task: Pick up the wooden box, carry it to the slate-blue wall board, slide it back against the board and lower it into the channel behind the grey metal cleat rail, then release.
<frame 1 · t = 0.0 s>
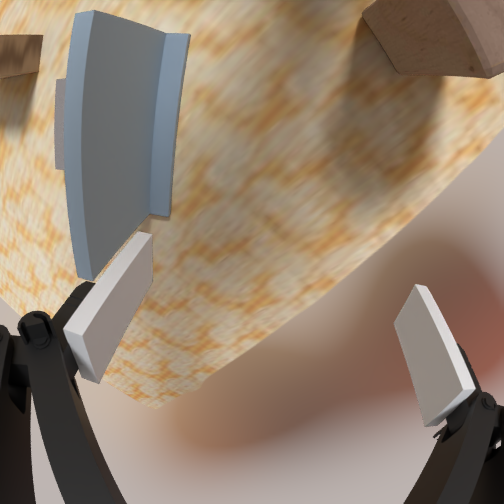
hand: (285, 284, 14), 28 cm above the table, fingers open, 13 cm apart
cleat rail: (70, 121, 37), on the table
wall board: (150, 124, 37), on the table
wooden box: (22, 57, 31), on the table
wooden block: (406, 32, 28), on the table
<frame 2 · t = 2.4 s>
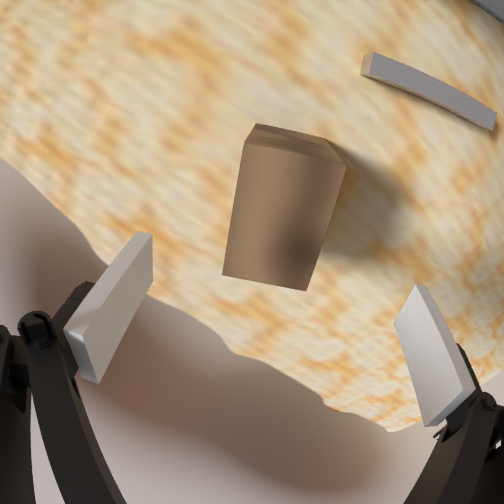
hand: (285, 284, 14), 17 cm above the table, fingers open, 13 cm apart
cleat rail: (427, 90, 22), on the table
wooden box: (279, 179, 29), on the table
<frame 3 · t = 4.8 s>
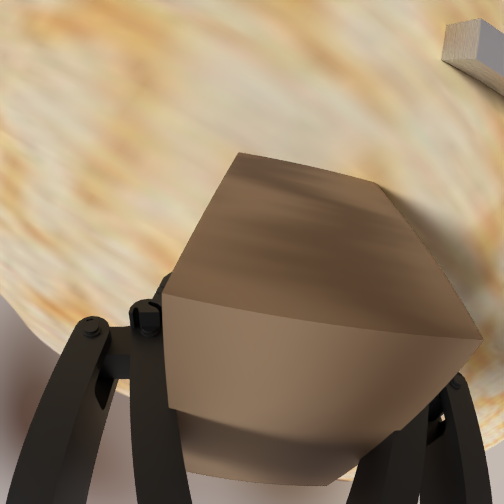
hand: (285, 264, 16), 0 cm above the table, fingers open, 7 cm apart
wooden box: (286, 257, 16), on the table
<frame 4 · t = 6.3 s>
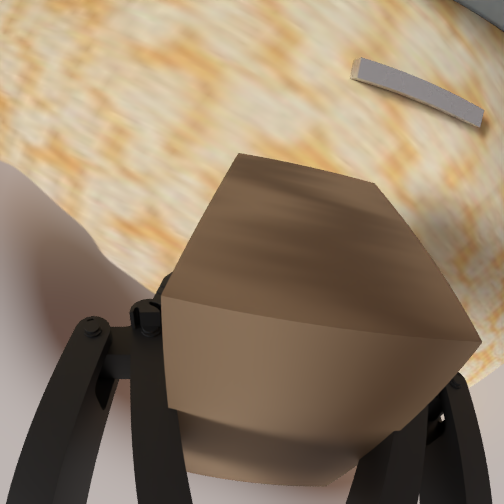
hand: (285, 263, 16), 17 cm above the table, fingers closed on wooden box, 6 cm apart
cleat rail: (415, 91, 24), on the table
wooden box: (285, 258, 16), point 17 cm above the table, touching gripper
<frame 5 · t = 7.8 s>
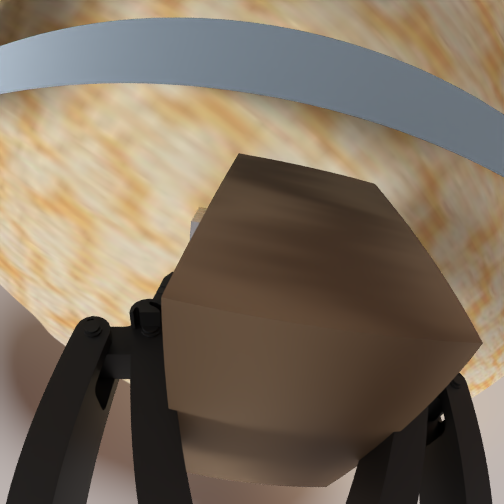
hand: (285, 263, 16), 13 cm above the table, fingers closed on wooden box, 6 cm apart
wall board: (301, 83, 22), on the table
wooden box: (286, 259, 16), point 13 cm above the table, touching gripper
when the fingers open (2 cm above the table, at t = 10.5 s): wooden box drops 1 cm, on the table.
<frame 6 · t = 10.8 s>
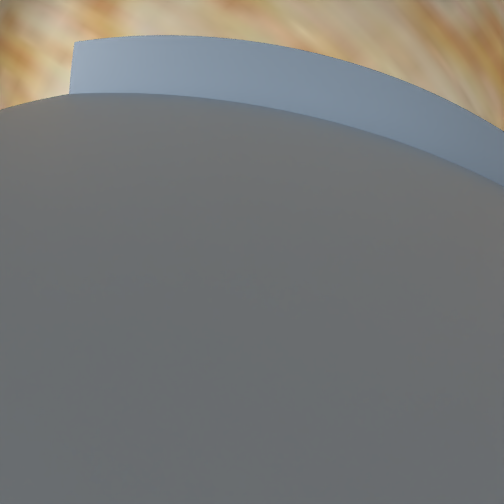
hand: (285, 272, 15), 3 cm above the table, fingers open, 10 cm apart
wall board: (312, 135, 14), on the table
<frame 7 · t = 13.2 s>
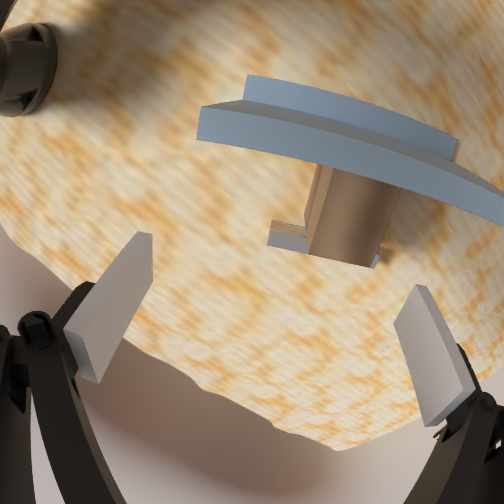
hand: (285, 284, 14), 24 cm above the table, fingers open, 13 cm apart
cleat rail: (323, 239, 39), on the table
wall board: (353, 133, 32), on the table
wooden box: (340, 182, 35), on the table
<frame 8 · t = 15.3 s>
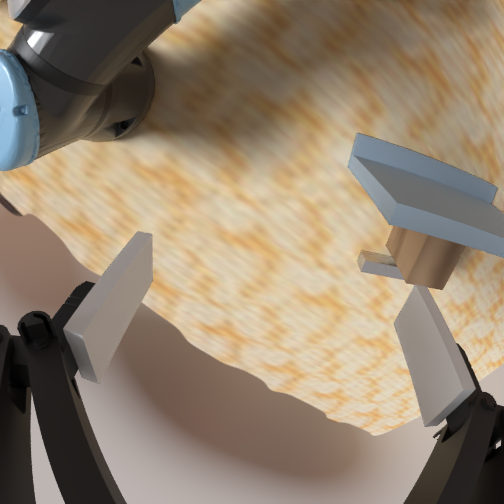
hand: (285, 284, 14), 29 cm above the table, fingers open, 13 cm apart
cleat rail: (396, 263, 46), on the table
wall board: (428, 184, 39), on the table
wooden box: (414, 221, 42), on the table
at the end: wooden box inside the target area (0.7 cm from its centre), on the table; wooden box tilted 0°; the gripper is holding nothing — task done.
